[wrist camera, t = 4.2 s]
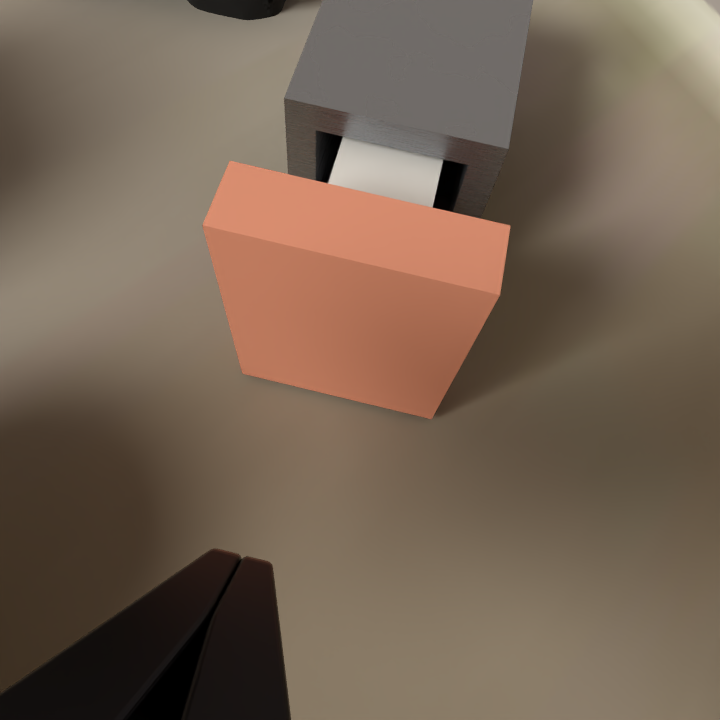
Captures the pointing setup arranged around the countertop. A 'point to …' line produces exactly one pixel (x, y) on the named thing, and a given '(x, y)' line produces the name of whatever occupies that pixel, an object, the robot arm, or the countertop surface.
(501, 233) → the pink block
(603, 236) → the countertop surface
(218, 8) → the egg carton
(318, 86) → the housing
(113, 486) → the countertop surface
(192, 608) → the robot arm
